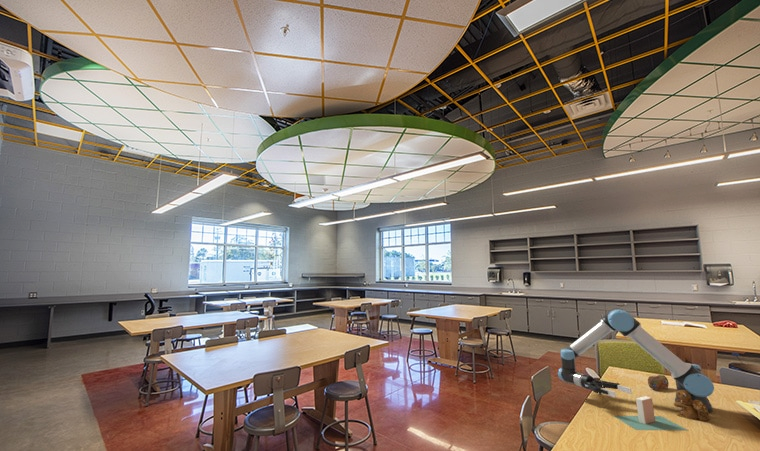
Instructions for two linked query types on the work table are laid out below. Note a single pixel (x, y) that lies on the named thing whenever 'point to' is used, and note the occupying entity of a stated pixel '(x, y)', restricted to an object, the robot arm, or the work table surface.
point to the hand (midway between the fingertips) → (623, 392)
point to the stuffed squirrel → (691, 407)
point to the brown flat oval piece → (658, 382)
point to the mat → (658, 424)
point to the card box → (645, 410)
